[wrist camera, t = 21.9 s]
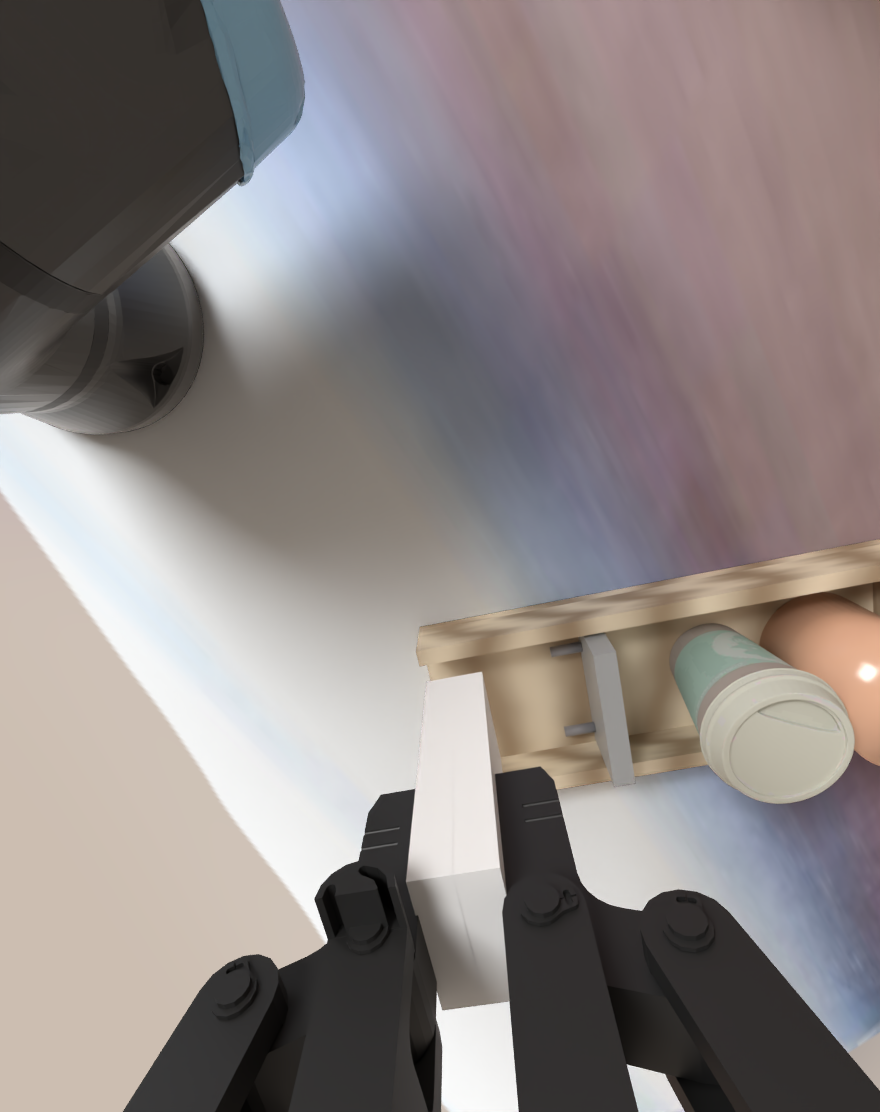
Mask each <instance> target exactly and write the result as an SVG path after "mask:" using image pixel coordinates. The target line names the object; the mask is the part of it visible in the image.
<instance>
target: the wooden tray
mask: <svg viewBox="0 0 880 1112" xmlns="http://www.w3.org/2000/svg"><path fill="white" fill-rule="evenodd" d="M819 592H827V593H833V594H837V595H840V596H842V597H844V598H846V599H848V600H850V601H852V602H854V603H856V604H858V605H860V606H862V607H864V608H866V609H868V610H869V611H871V612H873V613H875V614H877V615H879V616H880V539H878V540H873V541H868V542H862V543H857V544H852V545H847V546H841V547H836V548H831V549H826V550H821V551H815V552H810V553H805V554H800V555H794V556H789V557H784V558H779V559H773V560H768V561H763V562H758V563H752V564H747V565H742V566H737V567H732V568H726V569H721V570H716V571H711V572H705V573H700V574H695V575H690V576H684V577H679V578H674V579H669V580H663V581H658V582H653V583H648V584H642V585H637V586H632V587H627V588H622V589H616V590H611V591H606V592H601V593H595V594H590V595H585V596H580V597H574V598H569V599H564V600H559V601H553V602H548V603H543V604H538V605H533V606H527V607H522V608H517V609H512V610H506V611H501V612H496V613H491V614H485V615H480V616H475V617H470V618H464V619H459V620H454V621H449V622H444V623H438V624H433V625H428V626H423V627H420V629H419V635H418V642H417V648H416V654H417V658H418V662H419V666H425V665H427V667H428V671H429V675H430V680H431V681H433V680H439V679H444V678H450V677H455V676H461V675H466V674H472V673H477V672H482V674H483V678H484V683H485V688H486V692H487V697H488V701H489V706H490V711H491V715H492V720H493V725H494V729H495V734H496V738H497V743H498V748H499V752H500V757H501V763H502V771H503V773H504V772H510V771H516V770H522V769H528V768H534V767H539V766H541V767H542V768H543V769H544V770H545V771H546V772H547V773H548V775H549V776H550V777H551V778H552V779H553V780H554V782H555V786H556V790H558V789H564V788H570V787H576V786H582V785H589V784H595V783H601V782H607V781H612V780H611V777H610V775H609V772H608V770H607V767H606V765H605V762H604V760H603V757H602V755H601V752H600V750H599V747H598V745H597V742H596V740H595V735H594V732H593V733H587V734H581V735H575V736H569V737H566V735H565V731H564V727H565V726H570V725H576V724H582V723H588V722H592V716H591V710H590V704H589V698H588V692H587V686H586V680H585V674H584V668H583V662H582V656H581V652H579V653H573V654H568V655H562V656H557V657H551V653H550V648H549V647H552V646H557V645H563V644H568V643H574V642H579V638H578V637H581V636H587V635H592V634H597V633H603V632H604V633H605V634H606V636H607V638H608V639H609V641H610V643H611V644H612V646H613V648H614V649H615V651H616V655H617V662H618V669H619V676H620V682H621V689H622V696H623V703H624V709H625V716H626V723H627V730H628V736H629V743H630V750H631V757H632V764H633V770H634V777H637V776H643V775H649V774H656V773H662V772H668V771H674V770H680V769H686V768H692V767H698V766H704V765H708V764H707V762H706V760H705V758H704V756H703V754H702V750H701V746H700V736H699V734H698V731H697V729H696V727H695V725H694V722H693V720H692V718H691V716H690V713H689V711H688V709H687V706H686V704H685V702H684V700H683V697H682V695H681V693H680V691H679V688H678V686H677V684H676V681H675V679H674V677H673V674H672V672H671V669H670V664H669V658H670V653H671V650H672V647H673V645H674V644H675V642H676V641H677V639H678V638H679V637H680V636H681V635H682V634H683V633H685V632H686V631H688V630H689V629H691V628H693V627H695V626H698V625H702V624H708V623H716V624H722V625H725V626H728V627H730V628H732V629H733V630H735V631H737V632H738V633H740V634H741V635H743V636H745V637H746V638H748V639H749V640H751V641H753V642H754V643H756V644H757V645H759V643H760V638H761V634H762V632H763V629H764V627H765V625H766V624H767V622H768V620H769V619H770V618H771V616H772V615H773V614H774V613H775V612H776V611H777V610H778V609H779V608H780V607H782V606H783V605H784V604H786V603H787V602H789V601H791V600H792V599H794V598H796V597H799V596H802V595H808V594H813V593H819Z"/></svg>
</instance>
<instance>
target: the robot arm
mask: <svg viewBox="0 0 880 1112" xmlns="http://www.w3.org/2000/svg"><path fill="white" fill-rule="evenodd" d="M304 83H305V81H304V74H303V69H302V65H301V61H300V57H299V53H298V50H297V46H296V43H295V40H294V37H293V34H292V32H291V29H290V26H289V23H288V20H287V18H286V15H285V12H284V9H283V7H282V4H281V2H280V0H0V414H10V413H21V414H24V415H26V416H29V417H31V418H34V419H37V420H39V421H42V422H45V423H47V424H49V425H52V426H54V427H57V428H60V429H63V430H67V431H71V432H77V433H84V434H111V433H119V432H126V431H132V430H136V429H139V428H142V427H145V426H148V425H150V424H152V423H154V422H156V421H157V420H159V419H161V418H162V417H164V416H165V415H167V414H168V413H169V412H170V411H171V410H172V409H173V408H175V407H176V406H177V405H178V403H179V402H180V401H181V400H182V399H183V397H184V396H185V395H186V393H187V392H188V390H189V388H190V387H191V385H192V383H193V381H194V378H195V376H196V373H197V371H198V368H199V364H200V360H201V356H202V349H203V319H202V312H201V307H200V302H199V299H198V295H197V292H196V289H195V286H194V284H193V282H192V279H191V277H190V275H189V273H188V271H187V269H186V267H185V266H184V264H183V262H182V261H181V259H180V258H179V256H178V255H177V253H176V252H175V251H174V249H173V248H172V247H171V246H170V244H169V242H170V241H171V240H173V239H174V238H175V237H176V236H177V235H178V234H179V233H181V232H182V231H183V230H184V229H185V228H186V227H187V226H189V225H190V224H191V223H192V222H193V221H194V220H196V219H197V218H198V217H199V216H200V215H201V214H202V213H204V212H205V211H206V210H207V209H208V208H209V207H210V206H212V205H213V204H214V203H215V202H216V201H217V200H218V199H220V198H221V197H222V196H223V195H224V194H225V193H227V192H228V191H229V190H230V189H231V188H232V187H233V186H235V185H236V184H238V185H239V186H244V185H246V184H247V183H248V182H249V181H250V179H251V178H252V175H253V172H254V168H255V167H256V166H258V165H259V164H260V163H261V162H262V161H263V160H264V159H265V158H266V157H267V156H268V155H269V154H270V153H271V152H272V151H273V150H274V149H275V148H276V147H277V146H278V145H279V144H280V143H281V142H282V141H284V140H285V139H286V138H287V137H288V136H289V135H290V134H291V133H292V131H293V130H294V129H295V127H296V126H297V124H298V123H299V121H300V119H301V116H302V111H303V106H304V100H305V90H304ZM361 848H362V851H361V852H360V857H359V861H358V862H354V863H351V864H348V865H345V866H344V867H342V868H341V869H339V870H337V871H336V872H334V873H333V874H331V875H330V876H329V878H328V879H327V880H326V881H325V882H324V883H323V884H322V885H321V886H320V889H319V891H318V893H317V895H316V897H315V902H316V905H317V908H318V911H319V914H320V917H321V920H322V923H323V926H324V929H325V932H326V935H327V938H328V942H327V944H326V945H324V946H323V947H322V948H321V949H319V950H318V951H316V952H314V953H312V954H311V955H309V956H307V957H305V958H303V959H301V960H298V961H297V962H294V963H292V964H290V965H288V966H285V967H283V968H281V969H279V970H278V968H277V967H276V965H275V964H274V963H273V961H272V960H271V958H268V957H265V956H262V955H259V954H258V955H248V956H243V957H241V958H238V959H236V960H234V961H232V962H229V963H227V964H226V965H225V966H224V967H222V968H221V969H220V970H218V971H217V972H216V973H215V974H213V975H212V976H211V978H210V979H209V980H208V981H207V982H206V984H205V985H204V986H203V987H202V989H201V990H200V991H199V993H198V994H197V996H196V998H195V999H194V1001H193V1002H192V1004H191V1005H190V1007H189V1008H188V1010H187V1012H186V1013H185V1015H184V1016H183V1018H182V1020H181V1021H180V1023H179V1024H178V1026H177V1027H176V1029H175V1031H174V1032H173V1034H172V1035H171V1037H170V1038H169V1040H168V1042H167V1043H166V1045H165V1046H164V1048H163V1049H162V1051H161V1052H160V1054H159V1056H158V1057H157V1059H156V1060H155V1062H154V1063H153V1065H152V1067H151V1068H150V1070H149V1071H148V1073H147V1075H146V1076H145V1078H144V1079H143V1081H142V1082H141V1084H140V1086H139V1087H138V1089H137V1090H136V1092H135V1094H134V1095H133V1097H132V1098H131V1100H130V1101H129V1103H128V1104H127V1106H126V1108H125V1109H124V1111H123V1112H441V1085H442V1043H441V1037H440V1031H439V1028H438V1024H437V1021H436V996H437V993H438V997H439V1000H440V1004H441V1007H442V1010H449V1009H456V1008H463V1007H471V1006H478V1005H486V1004H493V1003H500V1002H508V1001H510V1012H511V1024H512V1036H513V1048H514V1060H515V1071H516V1083H517V1095H518V1107H519V1112H638V1108H637V1104H636V1100H635V1096H634V1092H633V1088H632V1084H631V1080H630V1076H629V1072H628V1068H627V1064H628V1065H632V1066H636V1067H640V1068H644V1069H648V1070H652V1071H656V1072H660V1073H664V1074H666V1077H667V1079H668V1081H669V1083H670V1085H671V1087H672V1088H673V1090H674V1092H675V1094H676V1096H677V1098H678V1100H679V1101H680V1103H681V1105H682V1107H683V1109H684V1111H685V1112H880V1091H879V1089H878V1088H877V1087H876V1086H875V1085H874V1084H873V1082H872V1081H871V1080H870V1079H869V1078H868V1076H867V1075H866V1074H865V1073H864V1072H863V1070H862V1069H861V1068H860V1067H859V1066H858V1064H857V1063H856V1062H855V1061H854V1060H853V1058H851V1056H850V1055H849V1054H848V1053H847V1051H846V1050H845V1049H844V1048H843V1047H842V1045H841V1044H840V1043H839V1042H838V1041H837V1040H836V1038H835V1037H834V1036H833V1035H832V1034H831V1032H830V1031H829V1030H828V1029H827V1028H826V1026H825V1025H824V1024H823V1023H822V1022H821V1021H820V1019H819V1018H818V1017H817V1016H816V1015H815V1013H814V1012H813V1011H812V1010H811V1009H810V1007H809V1006H808V1005H807V1004H806V1003H805V1002H804V1000H803V999H802V998H801V997H800V996H799V994H798V993H797V992H796V991H795V990H794V988H793V987H792V986H791V985H790V984H789V983H788V981H787V980H786V979H785V978H784V977H783V975H782V974H781V973H780V972H779V971H778V970H777V968H776V967H775V966H774V965H773V964H772V962H771V961H770V960H769V959H768V958H767V956H766V955H765V954H764V953H763V952H762V951H761V949H760V948H759V947H758V946H757V945H756V943H755V942H754V941H753V940H752V939H751V937H750V936H749V935H748V934H747V933H746V932H745V930H744V929H743V928H742V927H741V926H740V924H739V923H738V922H737V921H736V920H735V919H734V917H733V916H732V915H731V914H730V913H729V912H728V911H727V910H726V909H725V908H724V907H723V906H721V905H720V904H719V903H718V902H717V901H716V900H714V899H712V898H710V897H707V896H705V895H703V894H701V893H698V892H694V891H686V890H673V891H668V892H663V893H661V894H659V895H657V896H656V897H654V898H652V899H651V900H649V901H648V903H647V904H646V906H645V908H644V909H643V911H638V910H632V909H625V908H620V907H616V906H612V905H609V904H607V903H605V902H603V901H601V900H598V899H597V898H596V897H594V896H593V895H592V894H591V893H589V892H588V891H587V890H586V888H585V887H584V886H583V884H582V883H581V881H580V879H579V876H578V874H577V870H576V866H575V862H574V858H573V854H572V850H571V846H570V842H569V838H568V834H567V830H566V826H565V822H564V818H563V814H562V810H561V806H560V802H559V798H558V794H557V790H556V786H555V782H554V780H553V779H552V778H551V777H550V776H549V775H548V773H547V772H546V771H545V770H544V769H543V768H542V767H541V766H539V767H534V768H528V769H522V770H516V771H510V772H504V773H503V771H502V763H501V757H500V752H499V748H498V743H497V738H496V734H495V729H494V725H493V720H492V715H491V711H490V706H489V701H488V697H487V692H486V688H485V683H484V678H483V674H482V672H477V673H472V674H466V675H461V676H455V677H450V678H444V679H439V680H433V681H428V682H426V690H425V699H424V709H423V719H422V729H421V739H420V749H419V759H418V768H417V778H416V788H415V789H413V790H407V791H401V792H395V793H389V794H383V795H381V796H380V797H379V799H378V800H377V801H376V803H375V804H374V806H373V807H372V809H371V810H370V811H369V813H368V818H367V823H366V828H365V835H364V837H363V842H362V847H361Z"/></svg>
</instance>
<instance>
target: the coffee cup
mask: <svg viewBox="0 0 880 1112" xmlns="http://www.w3.org/2000/svg"><path fill="white" fill-rule="evenodd" d="M669 664H670V669H671V672H672V674H673V677H674V679H675V681H676V684H677V686H678V688H679V691H680V693H681V695H682V697H683V700H684V702H685V704H686V706H687V709H688V711H689V713H690V716H691V718H692V720H693V722H694V725H695V727H696V729H697V731H698V734H699V736H700V746H701V750H702V754H703V756H704V758H705V760H706V762H707V764H708V765H709V767H710V768H711V769H712V770H713V772H714V773H715V774H717V775H718V776H719V777H720V778H721V779H722V780H723V781H724V782H725V783H727V784H728V785H729V786H731V787H733V788H735V789H737V790H739V791H740V792H742V793H743V794H745V795H746V796H748V797H750V798H753V799H755V800H758V801H762V802H766V803H775V804H785V803H793V802H798V801H802V800H805V799H808V798H811V797H813V796H815V795H817V794H819V793H821V792H823V791H824V790H826V789H827V788H829V787H830V786H831V785H832V784H834V783H835V782H836V781H837V780H838V779H839V778H840V776H841V775H842V774H843V773H844V771H845V770H846V768H847V767H848V765H849V763H850V761H851V758H852V755H853V751H854V745H855V737H854V730H853V727H852V724H851V722H850V720H849V717H848V713H847V710H846V708H845V706H844V704H843V702H842V701H841V699H840V698H839V697H838V695H837V694H836V692H835V691H834V690H833V689H832V688H831V687H830V686H829V685H828V684H827V683H826V682H825V681H823V680H822V679H820V678H819V677H817V676H815V675H813V674H811V673H808V672H805V671H802V670H797V669H795V668H794V667H792V666H791V665H789V664H788V663H786V662H784V661H783V660H781V659H780V658H778V657H776V656H775V655H773V654H772V653H770V652H769V651H767V650H765V649H764V648H762V647H761V646H759V645H757V644H756V643H754V642H753V641H751V640H749V639H748V638H746V637H745V636H743V635H741V634H740V633H738V632H737V631H735V630H733V629H732V628H730V627H728V626H725V625H722V624H716V623H708V624H702V625H698V626H695V627H693V628H691V629H689V630H688V631H686V632H685V633H683V634H682V635H681V636H680V637H679V638H678V639H677V641H676V642H675V644H674V645H673V647H672V650H671V653H670V658H669Z"/></svg>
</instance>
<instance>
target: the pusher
mask: <svg viewBox="0 0 880 1112" xmlns="http://www.w3.org/2000/svg"><path fill="white" fill-rule="evenodd" d="M578 638H579V642H574V643H568V644H563V645H557V646H552V647H549V648H550V653H551V657H557V656H562V655H568V654H573V653H579V652H581V656H582V662H583V668H584V674H585V680H586V686H587V692H588V698H589V704H590V710H591V716H592V722H588V723H582V724H576V725H570V726H565V727H564V731H565V735H566V737H569V736H575V735H581V734H587V733H593V732H594V735H595V740H596V742H597V745H598V747H599V750H600V752H601V755H602V757H603V760H604V762H605V765H606V767H607V770H608V772H609V775H610V777H611V780H612V783H613V785H614V787H617V786H623V785H629V784H635V777H634V770H633V764H632V757H631V750H630V743H629V736H628V730H627V723H626V716H625V709H624V703H623V696H622V689H621V682H620V676H619V669H618V662H617V655H616V651H615V649H614V648H613V646H612V644H611V643H610V641H609V639H608V638H607V636H606V634H605V633H604V632H603V633H597V634H592V635H587V636H581V637H578Z"/></svg>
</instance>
